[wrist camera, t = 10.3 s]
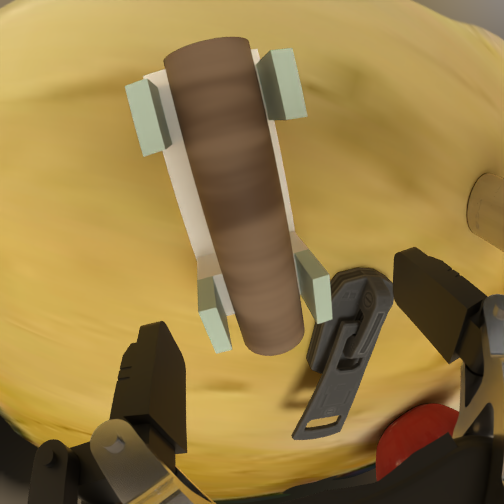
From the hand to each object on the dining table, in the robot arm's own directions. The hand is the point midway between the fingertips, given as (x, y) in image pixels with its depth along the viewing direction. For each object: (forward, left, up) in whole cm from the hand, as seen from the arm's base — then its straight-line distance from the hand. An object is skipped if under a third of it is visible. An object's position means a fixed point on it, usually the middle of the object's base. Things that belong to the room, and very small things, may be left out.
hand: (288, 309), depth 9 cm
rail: (0, 0, -12) cm, 12 cm away
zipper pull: (-7, +23, -17) cm, 30 cm away
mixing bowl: (-28, +64, -17) cm, 72 cm away
